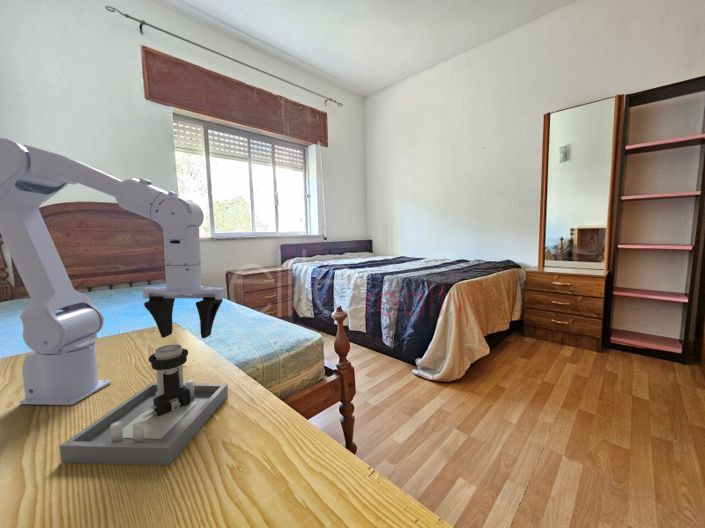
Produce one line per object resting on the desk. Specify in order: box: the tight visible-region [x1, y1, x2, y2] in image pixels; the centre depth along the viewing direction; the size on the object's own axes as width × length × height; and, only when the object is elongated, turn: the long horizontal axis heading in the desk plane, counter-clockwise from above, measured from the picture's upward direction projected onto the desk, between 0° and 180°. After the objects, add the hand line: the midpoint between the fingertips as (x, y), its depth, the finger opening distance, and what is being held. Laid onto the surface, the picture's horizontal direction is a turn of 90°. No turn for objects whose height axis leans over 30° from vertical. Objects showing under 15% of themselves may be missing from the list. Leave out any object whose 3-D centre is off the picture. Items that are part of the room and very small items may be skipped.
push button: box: [142, 343, 190, 418], centre depth 46 cm, size 7×5×10 cm
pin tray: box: [59, 379, 229, 466], centre depth 44 cm, size 14×16×4 cm
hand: (186, 336), depth 54 cm, fingers open, 7 cm apart
